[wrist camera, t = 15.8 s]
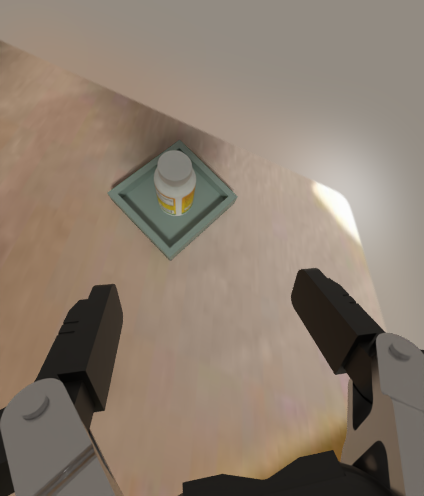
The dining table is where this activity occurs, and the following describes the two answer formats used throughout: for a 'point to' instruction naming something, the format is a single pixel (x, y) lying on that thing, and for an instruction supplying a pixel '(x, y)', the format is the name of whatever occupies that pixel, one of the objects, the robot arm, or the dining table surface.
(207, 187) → the tray
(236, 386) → the dining table surface
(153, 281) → the dining table surface
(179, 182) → the supplement bottle
